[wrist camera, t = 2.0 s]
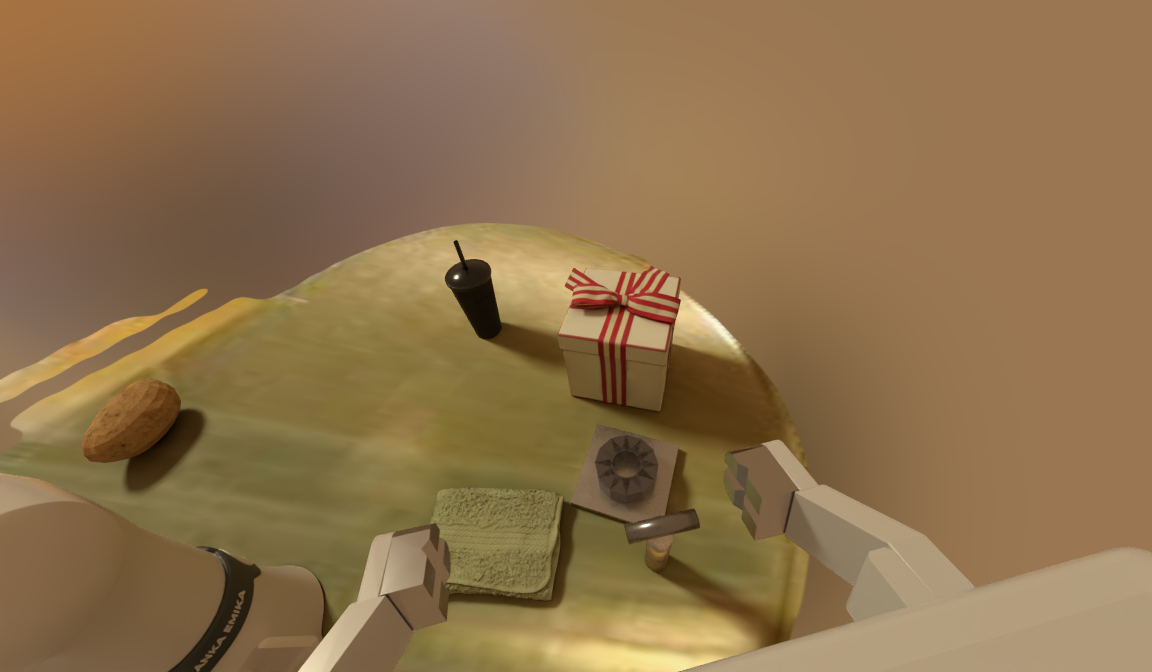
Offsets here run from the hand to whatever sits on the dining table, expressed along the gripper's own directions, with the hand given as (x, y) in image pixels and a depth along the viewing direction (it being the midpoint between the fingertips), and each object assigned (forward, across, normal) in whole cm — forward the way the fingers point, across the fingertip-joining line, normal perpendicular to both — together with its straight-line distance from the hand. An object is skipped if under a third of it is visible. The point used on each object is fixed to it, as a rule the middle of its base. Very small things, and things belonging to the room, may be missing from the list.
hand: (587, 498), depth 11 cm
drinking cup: (+62, -10, -29) cm, 69 cm away
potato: (+56, -67, -32) cm, 93 cm away
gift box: (+48, +12, -33) cm, 60 cm away
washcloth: (+26, -12, -40) cm, 49 cm away
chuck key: (+19, +8, -41) cm, 46 cm away
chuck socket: (+30, +7, -38) cm, 49 cm away
